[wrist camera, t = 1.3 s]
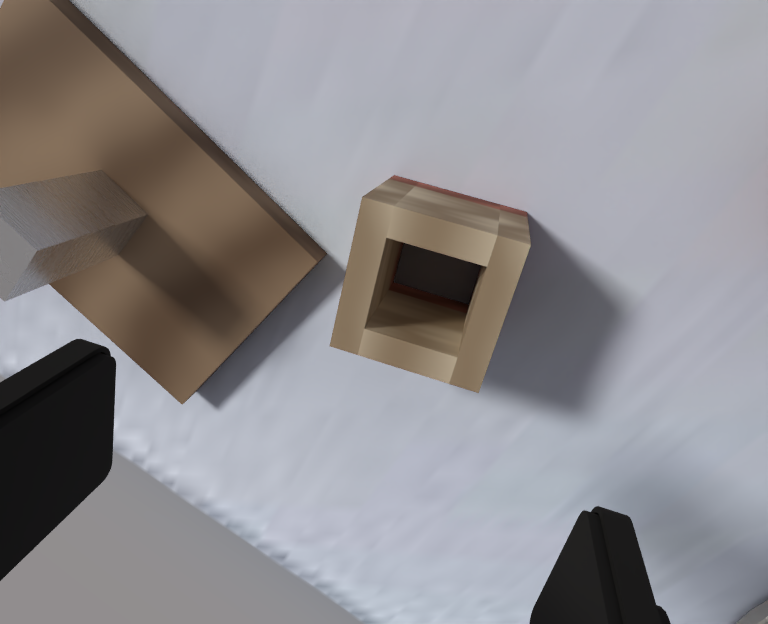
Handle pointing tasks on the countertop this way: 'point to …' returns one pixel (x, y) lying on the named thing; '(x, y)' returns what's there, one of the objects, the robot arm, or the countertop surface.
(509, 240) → the sleeve
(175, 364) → the pin board
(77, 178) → the steel pin
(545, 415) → the countertop surface
